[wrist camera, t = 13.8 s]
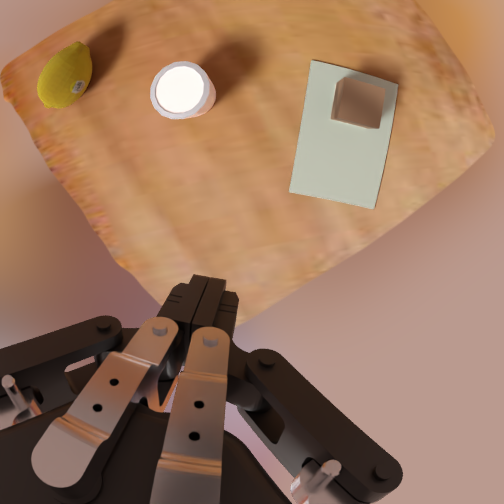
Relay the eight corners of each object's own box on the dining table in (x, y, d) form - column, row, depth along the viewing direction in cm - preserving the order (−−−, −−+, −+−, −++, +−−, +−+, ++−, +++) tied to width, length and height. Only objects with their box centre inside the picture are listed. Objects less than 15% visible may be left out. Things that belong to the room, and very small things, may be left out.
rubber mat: (311, 60, 31) (311, 60, 31) (397, 84, 31) (398, 84, 31) (288, 191, 38) (289, 192, 38) (373, 208, 38) (373, 209, 38)
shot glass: (216, 66, 32) (204, 54, 26) (224, 115, 35) (214, 111, 28) (166, 79, 33) (145, 70, 27) (174, 126, 36) (154, 126, 29)
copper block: (338, 117, 29) (329, 119, 34) (379, 128, 29) (366, 128, 34) (344, 76, 27) (335, 83, 32) (385, 88, 27) (372, 93, 32)
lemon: (72, 120, 35) (38, 123, 28) (50, 91, 33) (17, 90, 26) (117, 67, 32) (86, 58, 25) (92, 39, 30) (61, 29, 23)
